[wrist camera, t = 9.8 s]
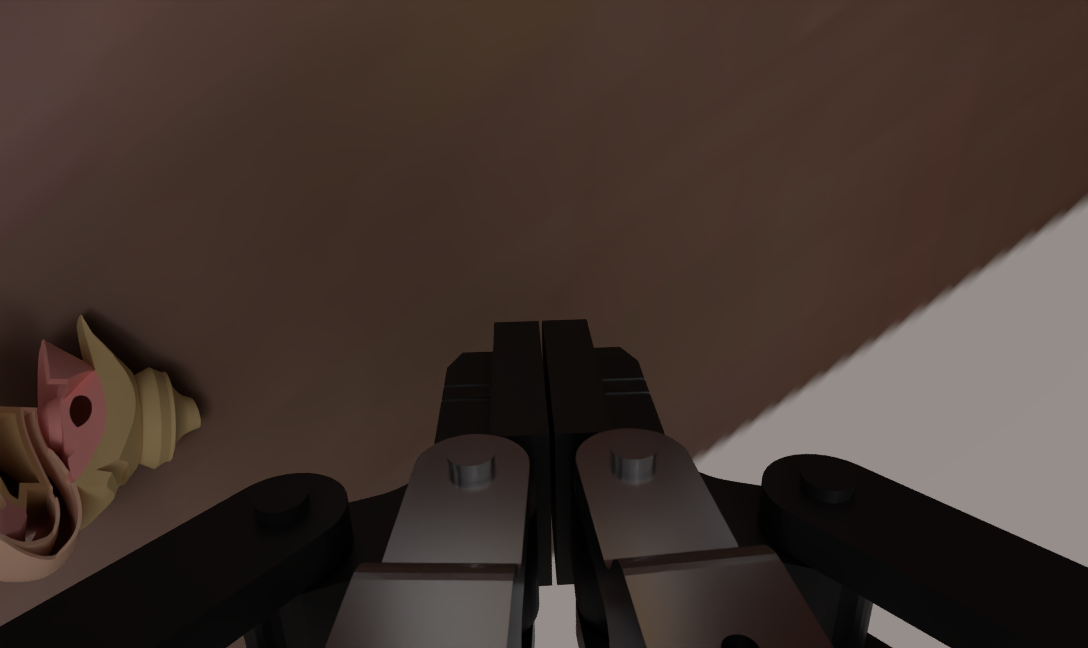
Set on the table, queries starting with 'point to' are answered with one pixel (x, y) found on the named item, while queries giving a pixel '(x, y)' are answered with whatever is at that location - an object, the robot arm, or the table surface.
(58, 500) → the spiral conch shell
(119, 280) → the table surface
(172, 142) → the table surface
